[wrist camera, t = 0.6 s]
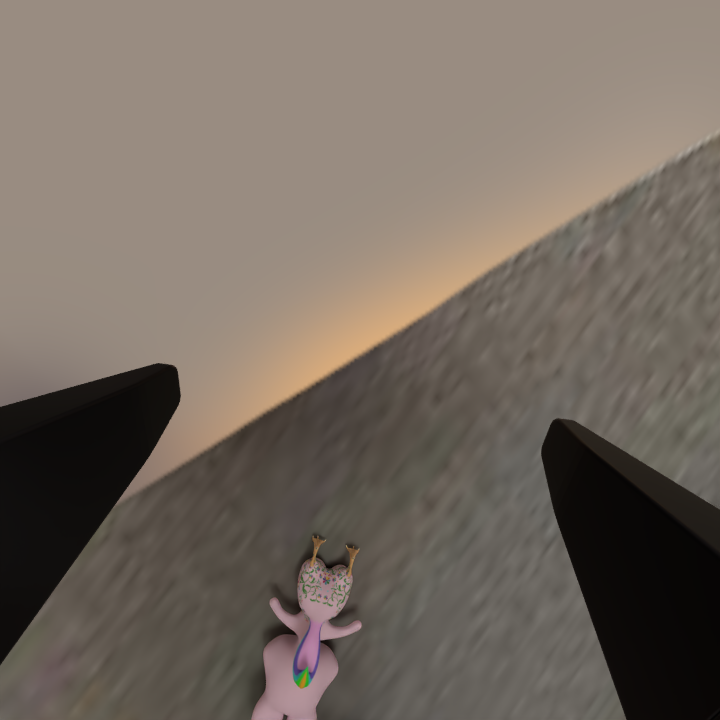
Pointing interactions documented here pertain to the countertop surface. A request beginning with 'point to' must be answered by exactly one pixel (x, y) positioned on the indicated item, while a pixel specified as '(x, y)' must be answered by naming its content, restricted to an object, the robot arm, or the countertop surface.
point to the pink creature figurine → (306, 642)
